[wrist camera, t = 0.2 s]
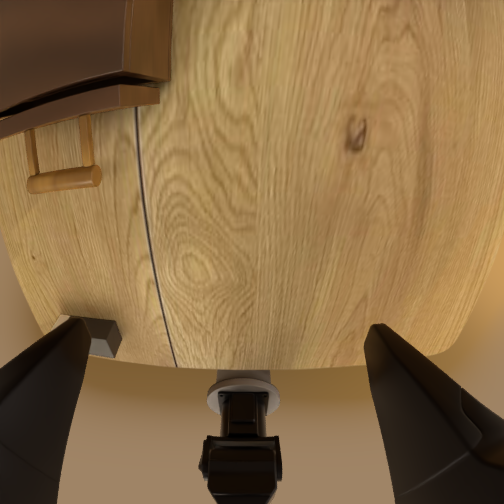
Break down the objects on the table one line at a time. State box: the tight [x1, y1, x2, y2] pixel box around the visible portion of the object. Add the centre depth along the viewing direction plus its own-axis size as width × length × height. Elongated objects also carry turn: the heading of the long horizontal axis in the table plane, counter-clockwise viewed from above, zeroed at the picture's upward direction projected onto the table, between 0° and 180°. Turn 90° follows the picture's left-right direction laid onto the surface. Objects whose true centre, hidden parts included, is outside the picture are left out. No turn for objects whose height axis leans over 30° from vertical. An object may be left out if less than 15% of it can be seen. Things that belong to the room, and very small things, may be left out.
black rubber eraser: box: [50, 314, 122, 358], centre depth 28 cm, size 3×8×3 cm, turn 89°
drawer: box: [0, 75, 160, 194], centre depth 12 cm, size 18×12×7 cm
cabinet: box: [0, 0, 173, 119], centre depth 10 cm, size 15×14×9 cm
